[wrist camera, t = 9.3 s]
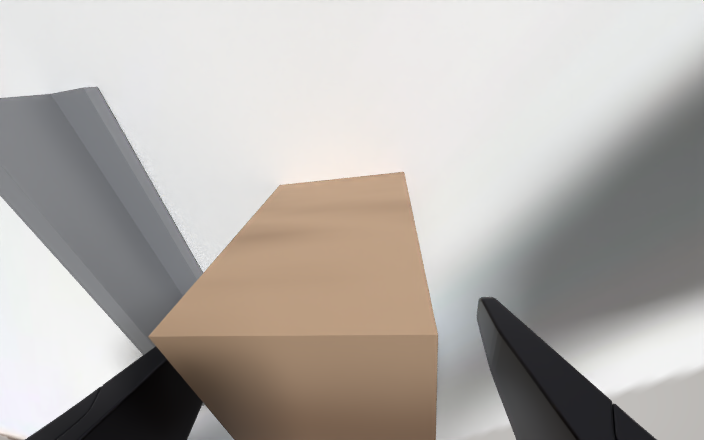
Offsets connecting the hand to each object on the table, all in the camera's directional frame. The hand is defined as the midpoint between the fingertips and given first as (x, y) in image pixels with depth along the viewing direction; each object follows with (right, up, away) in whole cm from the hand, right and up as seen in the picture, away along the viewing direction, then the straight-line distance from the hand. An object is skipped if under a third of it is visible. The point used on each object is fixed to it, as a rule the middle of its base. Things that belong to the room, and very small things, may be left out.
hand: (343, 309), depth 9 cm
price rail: (-10, +1, +4) cm, 11 cm away
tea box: (0, +2, +3) cm, 3 cm away
